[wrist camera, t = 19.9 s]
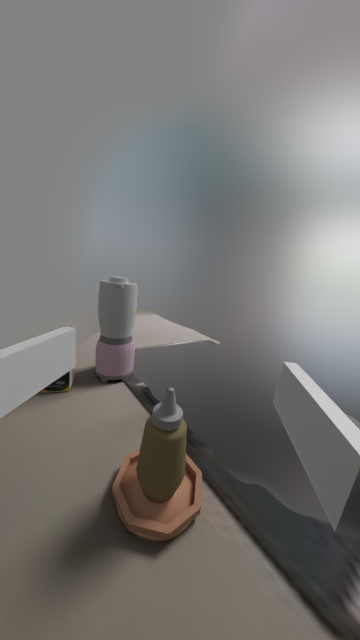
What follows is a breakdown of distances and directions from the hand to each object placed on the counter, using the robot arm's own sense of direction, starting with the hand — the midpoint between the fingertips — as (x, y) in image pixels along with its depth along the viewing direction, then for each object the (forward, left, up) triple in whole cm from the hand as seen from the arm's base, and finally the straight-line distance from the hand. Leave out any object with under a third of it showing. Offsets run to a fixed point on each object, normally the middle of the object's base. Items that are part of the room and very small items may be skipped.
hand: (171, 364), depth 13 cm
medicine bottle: (+37, -38, -31) cm, 61 cm away
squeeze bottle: (+2, -16, -30) cm, 34 cm away
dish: (+2, -16, -31) cm, 34 cm away
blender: (+26, -51, -31) cm, 65 cm away
